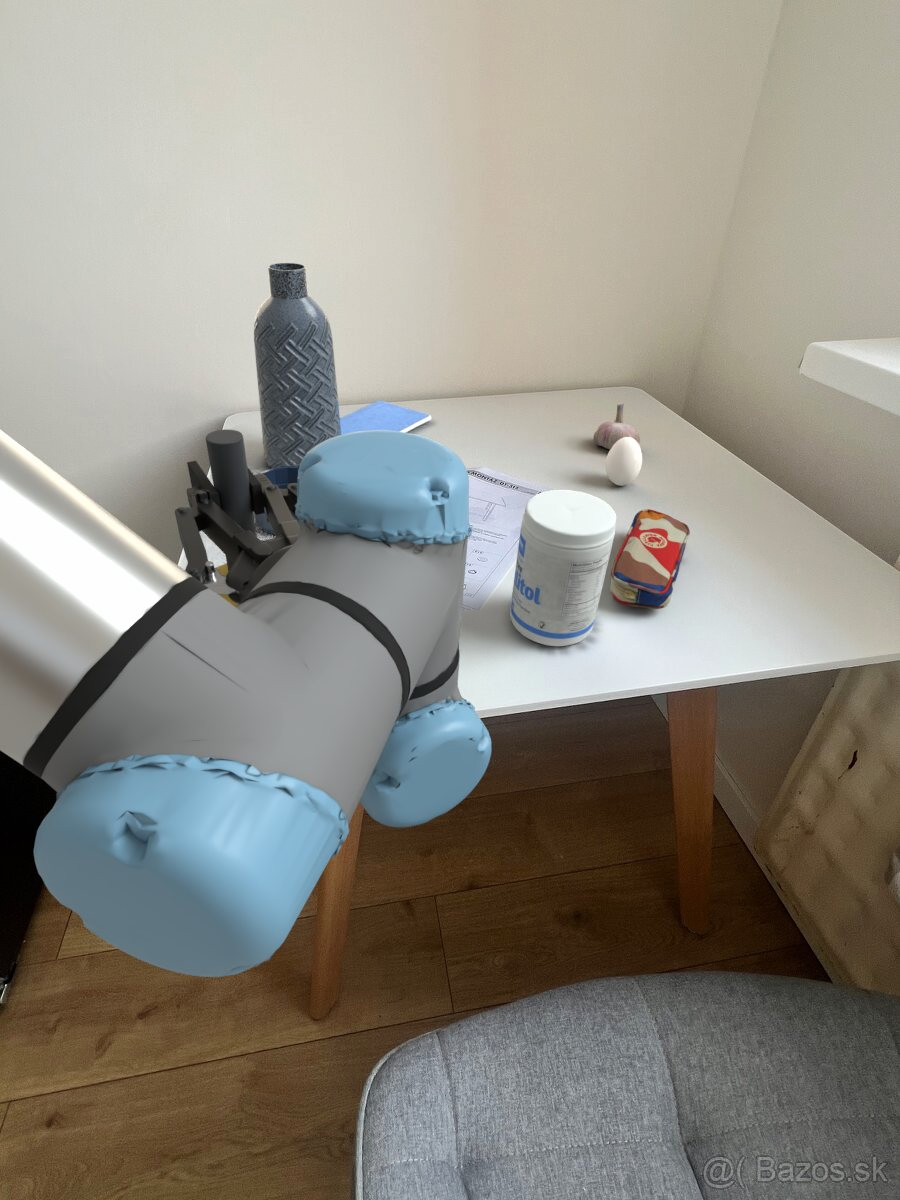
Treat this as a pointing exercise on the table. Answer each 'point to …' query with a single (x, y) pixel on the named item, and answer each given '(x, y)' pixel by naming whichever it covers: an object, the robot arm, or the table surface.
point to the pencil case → (649, 560)
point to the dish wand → (231, 482)
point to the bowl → (282, 480)
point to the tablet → (382, 418)
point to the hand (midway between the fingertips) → (214, 472)
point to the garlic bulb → (614, 431)
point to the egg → (624, 461)
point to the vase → (294, 369)
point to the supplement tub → (561, 566)
